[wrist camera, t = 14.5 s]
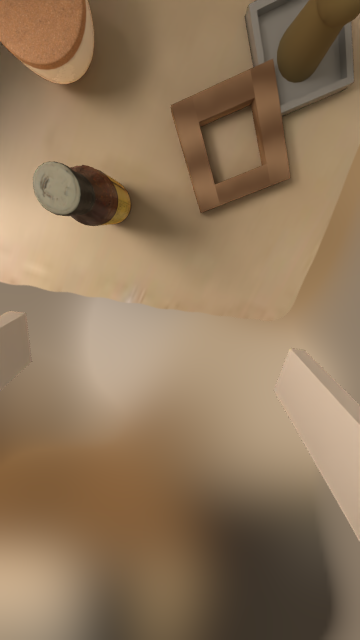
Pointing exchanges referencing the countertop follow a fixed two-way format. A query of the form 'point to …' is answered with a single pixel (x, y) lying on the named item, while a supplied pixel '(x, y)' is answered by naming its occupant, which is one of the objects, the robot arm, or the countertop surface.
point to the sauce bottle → (81, 194)
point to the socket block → (219, 102)
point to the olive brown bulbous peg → (312, 36)
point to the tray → (264, 37)
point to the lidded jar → (49, 36)
